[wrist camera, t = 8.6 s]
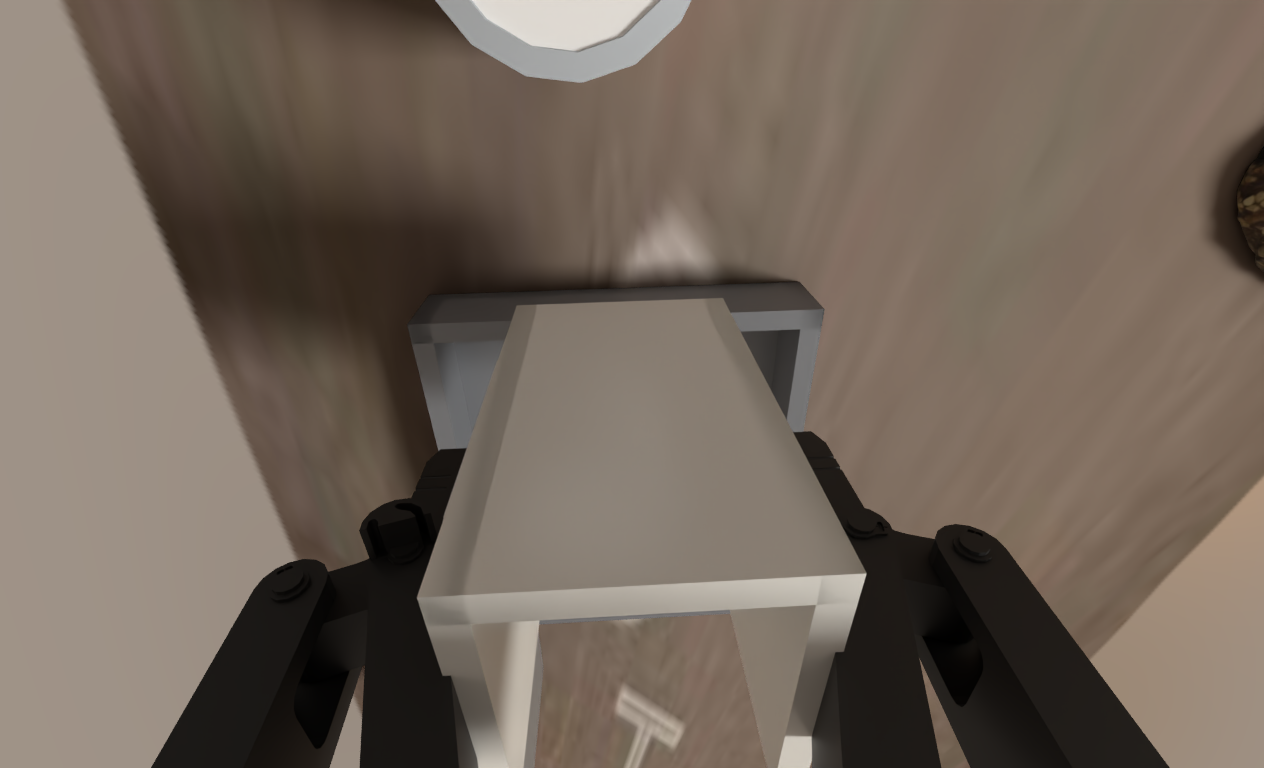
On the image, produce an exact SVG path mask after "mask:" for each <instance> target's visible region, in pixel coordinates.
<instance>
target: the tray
mask: <svg viewBox="0 0 1264 768" xmlns="http://www.w3.org/2000/svg"><path fill="white" fill-rule="evenodd" d="M708 298H723V299H724V301H725V303H726V305H727V307H728V309H729V311H730V313H731V315H732V317H733V318H734V320H735V322H736V324H737V326H738V328H739V330H740V332H741V334H742V336H743V338H744V340H745V341H746V343H747V345H748V347H749V349H750V351H751V353H752V355H753V357H754V359H755V361H756V362H757V364H758V366H759V368H760V370H761V372H762V374H763V376H764V378H765V380H766V382H767V384H768V385H769V387H770V389H771V391H772V393H773V395H774V397H775V399H776V401H777V403H778V405H779V407H780V408H781V410H782V412H783V414H784V416H785V418H786V420H787V422H788V424H789V426H790V428H791V429H792V431H793V432H803V430H804V424H805V418H806V413H807V407H808V401H809V395H810V389H811V384H812V378H813V372H814V366H815V361H816V355H817V349H818V343H819V338H820V332H821V326H822V320H823V314H824V308H823V307H822V306H821V305H820V304H819V303H818V302H817V301H816V299H815V298H814V297H813V296H812V295H811V294H810V293H809V292H808V291H807V290H806V289H805V287H804V286H803V285H802V284H801V283H800V282H782V283H754V284H725V285H697V286H668V287H640V288H612V289H583V290H555V291H526V292H498V293H469V294H441V295H429V296H428V297H427V298H426V300H425V301H424V302H423V304H422V305H421V307H420V308H419V309H418V311H417V312H416V313H415V315H414V316H413V317H412V319H411V320H410V321H409V323H408V324H407V326H408V330H409V334H410V338H411V342H412V346H413V350H414V354H415V359H416V363H417V367H418V371H419V375H420V379H421V383H422V387H423V391H424V395H425V399H426V403H427V407H428V411H429V415H430V419H431V423H432V427H433V431H434V435H435V439H436V443H437V447H438V451H439V450H440V449H458V448H467V446H468V443H469V440H470V438H471V435H472V432H473V429H474V426H475V423H476V420H477V417H478V414H479V411H480V408H481V406H482V403H483V400H484V397H485V394H486V391H487V388H488V385H489V382H490V379H491V376H492V374H493V371H494V368H495V365H496V362H497V361H498V359H499V356H500V353H501V350H502V347H503V344H504V341H505V338H506V335H507V332H508V330H509V327H510V324H511V321H512V318H513V315H514V312H515V309H516V306H517V305H542V304H570V303H597V302H625V301H653V300H681V299H708ZM713 614H730V610H717V611H699V612H681V613H663V614H645V615H628V616H610V617H592V618H574V619H556V620H539V624H554V623H571V622H589V621H607V620H624V619H642V618H660V617H678V616H695V615H713Z"/></svg>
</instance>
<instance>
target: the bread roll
mask: <svg viewBox="0 0 1264 768" xmlns="http://www.w3.org/2000/svg"><path fill="white" fill-rule="evenodd" d="M1237 204H1238V209H1239V212H1238V217H1237V219H1238V220H1239V221H1240V223H1241V226H1242V230H1243V233H1244V235H1245V237H1246V239H1247V242H1248V246H1249V247H1250V248H1251V249H1252V251H1253V252H1254V253H1255V254H1256V260H1255V262H1256V265H1257V266H1258V267H1259V268H1260V269H1261V270H1262V271H1263V272H1264V146H1263V148H1262V149H1261V151H1260V153H1259V155H1258V158H1257V159H1256V160H1254V162H1253V163H1252V164H1251V166H1250V167H1249V169H1248V170H1247V171H1246V173H1245V175H1244V178H1243V180H1242V182H1241V184H1240V186H1239V188H1238V190H1237Z"/></svg>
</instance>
